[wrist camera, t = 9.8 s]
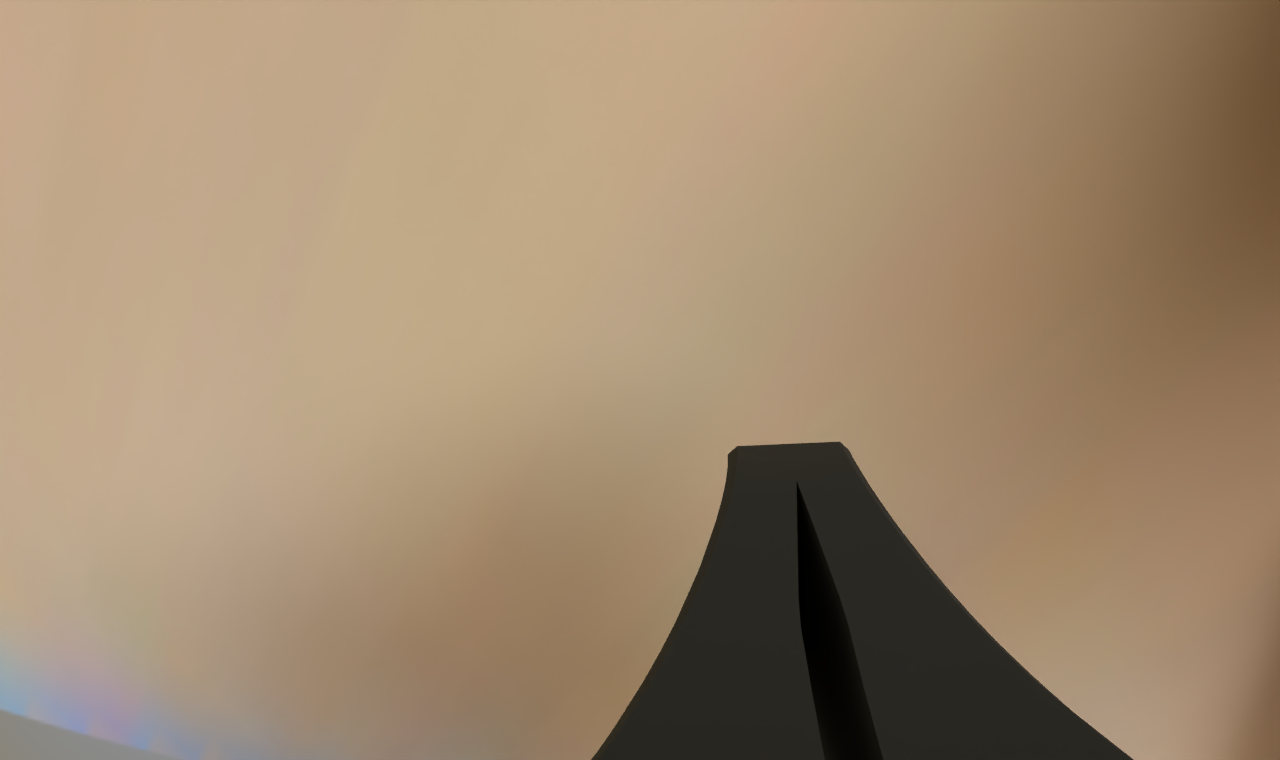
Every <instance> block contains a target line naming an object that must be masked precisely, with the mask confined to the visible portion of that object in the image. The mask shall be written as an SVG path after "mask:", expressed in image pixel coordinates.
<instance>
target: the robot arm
mask: <svg viewBox="0 0 1280 760" xmlns="http://www.w3.org/2000/svg"><path fill="white" fill-rule="evenodd" d="M591 760H1133V759H1132V758H1131V757H1129V756H1128V755H1127V754H1126V753H1124V752H1123V751H1122V750H1120V749H1119V748H1118V747H1117V746H1115V745H1114V744H1113V743H1112V742H1110V741H1109V740H1108V739H1107V738H1105V737H1104V736H1103V735H1102V734H1100V733H1099V732H1098V731H1096V730H1095V729H1094V728H1093V727H1091V726H1090V725H1089V724H1088V723H1086V722H1085V721H1084V720H1083V719H1081V718H1080V717H1079V716H1078V715H1076V714H1075V713H1074V712H1073V711H1071V710H1070V709H1069V708H1068V707H1067V706H1066V705H1064V704H1063V703H1062V702H1061V701H1060V700H1059V699H1058V698H1057V697H1055V696H1054V695H1053V694H1052V693H1051V692H1050V691H1049V690H1048V689H1046V688H1045V687H1044V686H1043V685H1042V684H1041V683H1040V682H1039V681H1037V680H1036V679H1035V678H1034V677H1033V676H1032V675H1031V674H1030V673H1029V672H1028V671H1027V670H1026V669H1025V668H1023V667H1022V666H1021V665H1020V664H1019V663H1018V662H1017V661H1016V660H1015V659H1014V658H1013V657H1012V656H1011V655H1010V654H1009V653H1008V652H1007V651H1006V650H1005V649H1004V648H1003V647H1002V646H1001V645H1000V644H999V643H998V642H997V641H996V640H995V639H994V638H993V637H992V636H991V635H990V634H989V633H988V632H987V631H986V630H985V629H984V628H983V627H982V626H981V625H980V624H979V623H978V622H977V620H976V619H975V618H974V617H973V616H972V615H971V614H970V613H969V612H968V611H967V610H966V608H965V607H964V606H963V605H962V604H961V603H960V602H959V601H958V599H957V598H956V597H955V596H954V595H953V594H952V593H951V592H950V590H949V589H948V588H947V587H946V586H945V585H944V584H943V582H942V581H941V580H940V579H939V578H938V576H937V575H936V574H935V573H934V572H933V570H932V569H931V568H930V567H929V566H928V564H927V563H926V562H925V561H924V559H923V558H922V557H921V555H920V554H919V553H918V552H917V550H916V549H915V548H914V546H913V545H912V544H911V543H910V541H909V540H908V539H907V537H906V536H905V535H904V534H903V532H902V531H901V530H900V528H899V527H898V526H897V524H896V523H895V521H894V520H893V519H892V517H891V516H890V515H889V513H888V512H887V510H886V509H885V507H884V506H883V504H882V503H881V502H880V500H879V499H878V497H877V496H876V494H875V493H874V491H873V490H872V488H871V487H870V485H869V484H868V482H867V480H866V479H865V477H864V476H863V474H862V472H861V471H860V469H859V467H858V466H857V464H856V462H855V461H854V459H853V457H852V455H851V453H850V451H849V450H848V449H847V448H846V447H845V446H844V445H843V444H842V443H840V442H824V443H801V444H779V445H756V446H737V447H736V448H735V449H734V450H732V451H731V452H730V453H729V454H728V470H727V477H726V484H725V489H724V493H723V498H722V501H721V505H720V509H719V512H718V516H717V520H716V523H715V526H714V529H713V532H712V534H711V537H710V540H709V543H708V546H707V549H706V552H705V555H704V557H703V560H702V563H701V566H700V568H699V571H698V573H697V575H696V578H695V580H694V582H693V584H692V587H691V589H690V591H689V593H688V596H687V598H686V600H685V602H684V605H683V607H682V609H681V612H680V614H679V616H678V618H677V620H676V622H675V624H674V626H673V628H672V630H671V632H670V634H669V636H668V638H667V640H666V642H665V644H664V646H663V648H662V650H661V651H660V653H659V655H658V657H657V659H656V660H655V662H654V664H653V666H652V668H651V669H650V671H649V673H648V675H647V676H646V678H645V680H644V681H643V683H642V685H641V686H640V688H639V690H638V691H637V693H636V694H635V696H634V697H633V699H632V701H631V702H630V704H629V705H628V707H627V709H626V710H625V712H624V713H623V715H622V716H621V718H620V720H619V721H618V723H617V724H616V726H615V727H614V729H613V730H612V732H611V733H610V735H609V736H608V737H607V739H606V740H605V742H604V743H603V745H602V746H601V747H600V749H599V750H598V752H597V753H596V754H595V756H594V757H593V758H592V759H591Z"/></svg>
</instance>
